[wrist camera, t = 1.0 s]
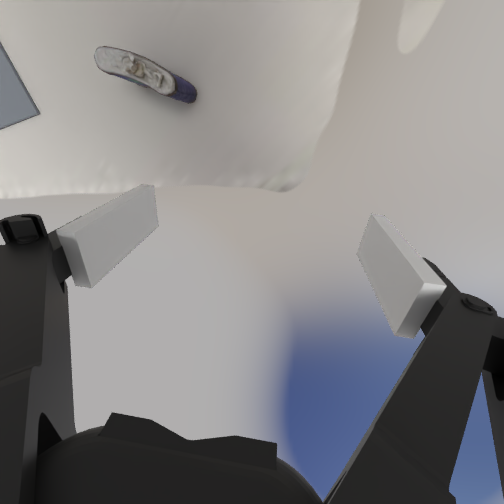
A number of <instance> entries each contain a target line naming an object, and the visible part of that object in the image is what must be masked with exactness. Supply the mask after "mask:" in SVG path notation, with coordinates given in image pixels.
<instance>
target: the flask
mask: <svg viewBox="0 0 504 504" xmlns="http://www.w3.org/2000/svg"><path fill="white" fill-rule="evenodd" d="M94 58H95V61H96V64H97V66H98V68H99V69H101V70H102V71H104V72H106V73H108V74H110V75H115V76H117V77H120V78H123V79H126V80H128V81H131V82H134V83H136V84H138V85H141V86H144V87H146V88H147V87H150V88H152V89H154V90H155V91H157V92H158V93H160V94H162V95H164V96H168V97H171V98H174V99H176V100H181V101H183V102H186V103H188V104H189V103H193V102H194V101H195V100H196V96H197V90H196V89H195V87H194V86H193V85H192V84H191V83H189V82H187V81H186V80H184V79H183V78H181V77H179V76H177V75H175V74H173V73H171V72H170V71H168V70H166V69H165V68H163V67H161V66H160V65H158V64H156V63H155V62H153V61H151V60H149V59H147V58H145V57H143V56H140V55H138V54H135V53H132V52H129V51H125V50H122V49H117V48H113V47H107V46H103V47H98V48H97V49H96V52H95V55H94Z"/></svg>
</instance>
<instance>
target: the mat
mask: <svg viewBox="0 0 504 504" xmlns="http://www.w3.org/2000/svg"><path fill="white" fill-rule="evenodd" d="M38 114H40V113H39V111H38V109H37V107H36V105H35V104H34V102H33V100H32V98H31V97H30V95H29V93H28V91H27V89H26V88H25V86H24V84H23V82H22V80H21V79H20V77H19V75H18V73H17V72H16V70H15V68H14V66H13V64H12V63H11V61H10V59H9V57H8V55H7V54H6V52H5V50H4V48H3V46H2V45H1V43H0V129H2V128H5V127H8V126H10V125H13V124H15V123H18V122H20V121H23V120H26V119H28V118H31V117H33V116H36V115H38Z"/></svg>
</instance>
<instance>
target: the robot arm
mask: <svg viewBox="0 0 504 504" xmlns="http://www.w3.org/2000/svg"><path fill="white" fill-rule="evenodd" d="M157 227H158V218H157V209H156V201H155V192H154V186H152V185H144V184H141V185H139V186H137V187H136V188H134V189H132V190H130V191H128V192H126V193H124V194H123V195H121V196H119V197H117V198H115V199H113V200H111V201H109V202H108V203H106V204H104V205H102V206H100V207H98V208H96V209H94V210H93V211H91V212H89V213H87V214H85V215H83V216H81V217H79V218H77V219H75V220H73V221H71V222H69V223H67V224H66V225H64V226H62V227H60V228H58V229H56V230H54V231H52V232H50V233H49V234H47V231H46V229H45V226H44V224H43V221H42V218H41V217H40V216H39V215H35V214H22V215H15V216H11V217H7V218H4V219H2V220H0V232H1V235H2V236H3V239H4V241H5V243H6V244H5V245H0V504H456V499H455V497H454V496H453V495H452V494H451V493H450V492H449V484H450V480H451V477H452V473H453V470H454V466H455V463H456V459H457V456H458V452H459V449H460V445H461V441H462V438H463V435H464V431H465V428H466V424H467V420H468V417H469V413H470V410H471V406H472V403H473V400H474V396H475V393H476V389H477V386H478V382H479V379H480V375H481V372H482V376H483V382H484V388H485V393H486V399H487V405H488V411H489V416H490V422H491V428H492V434H493V440H494V445H495V451H496V457H497V463H498V468H499V474H500V480H501V486H502V491H503V497H504V318H501V317H498V316H497V312H496V311H495V309H494V308H493V307H492V306H491V305H489V304H488V303H486V302H485V301H483V300H481V299H479V298H477V297H475V296H472V295H469V294H465V293H461V292H460V291H459V290H458V289H457V288H456V287H455V286H454V285H453V284H452V283H451V281H450V280H449V279H448V278H446V276H445V275H444V274H443V273H442V272H441V271H440V270H439V269H438V267H437V266H436V265H435V264H433V263H432V262H430V261H429V260H427V259H426V258H422V257H421V256H420V255H419V254H418V253H417V251H416V250H415V249H414V248H413V247H412V246H411V245H410V244H409V243H408V241H407V240H406V239H405V238H404V237H403V236H402V234H401V233H400V232H399V231H398V230H397V229H396V228H395V227H394V225H393V224H392V223H391V222H390V221H389V220H388V219H387V217H386V216H385V215H379V214H371V215H370V218H369V220H368V223H367V226H366V229H365V232H364V235H363V237H362V240H361V243H360V246H359V249H358V251H357V256H358V258H359V260H360V262H361V264H362V266H363V268H364V271H365V273H366V275H367V277H368V279H369V281H370V284H371V286H372V288H373V290H374V292H375V294H376V296H377V298H378V301H379V303H380V305H381V307H382V309H383V312H384V314H385V316H386V318H387V320H388V322H389V324H390V327H391V329H392V331H393V333H394V335H395V336H400V337H406V338H413V339H414V337H415V336H416V334H417V332H418V331H419V330H420V328H421V329H422V331H423V333H424V334H425V338H424V339H423V341H422V342H421V344H420V345H419V347H418V348H417V350H416V351H415V353H414V354H413V357H412V358H411V360H410V362H409V363H408V365H407V367H406V368H405V370H404V371H403V373H402V375H401V376H400V378H399V380H398V381H397V383H396V384H395V386H394V388H393V389H392V391H391V393H390V394H389V396H388V398H387V399H386V401H385V403H384V404H383V406H382V407H381V409H380V411H379V412H378V414H377V416H376V417H375V419H374V420H373V422H372V424H371V426H370V427H369V429H368V430H367V432H366V433H365V435H364V437H363V438H362V440H361V442H360V443H359V445H358V447H357V448H356V450H355V452H354V453H353V455H352V456H351V458H350V460H349V461H348V463H347V464H346V466H345V468H344V469H343V471H342V473H341V474H340V476H339V477H338V479H337V481H336V482H335V484H334V485H333V487H332V488H331V490H330V492H329V493H328V495H327V496H326V498H325V499H324V501H323V502H322V501H321V499H320V497H319V496H318V495H317V493H316V492H315V491H314V489H313V488H312V486H311V485H310V484H309V483H308V482H307V481H306V480H305V478H304V477H303V476H302V475H301V474H300V473H298V472H297V471H296V470H295V469H294V468H293V467H291V466H290V465H289V464H287V463H286V462H284V461H283V460H281V459H279V458H277V443H272V442H267V441H262V440H256V439H251V438H246V437H240V436H227V437H219V438H210V439H201V440H187V439H185V438H183V437H181V436H179V435H178V434H176V433H174V432H172V431H170V430H168V429H167V428H165V427H163V426H161V425H160V424H158V423H156V422H154V421H152V420H150V419H145V418H139V417H134V416H128V415H123V414H118V413H111V415H110V417H109V419H108V420H107V422H106V424H105V426H100V427H96V428H92V429H88V430H86V431H83V432H80V433H76V430H75V423H74V406H73V388H72V370H71V369H72V368H71V349H70V329H69V312H68V311H69V310H68V291H67V285H66V282H65V279H67V278H68V277H69V276H71V275H72V277H73V280H74V283H75V285H76V286H80V287H87V288H93V287H94V286H95V285H96V284H97V283H98V282H99V281H100V280H101V279H102V278H103V277H104V276H105V275H106V274H108V273H109V272H110V271H111V270H112V269H113V268H114V267H115V266H116V265H117V264H118V263H119V262H120V261H121V260H123V259H124V258H125V257H126V256H127V255H128V254H129V253H130V252H131V251H132V250H133V249H135V248H136V247H137V246H138V245H139V244H140V243H141V242H142V241H143V240H144V239H145V238H146V237H148V236H149V235H150V234H151V233H152V232H153V231H154V230H155V229H156V228H157Z"/></svg>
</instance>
